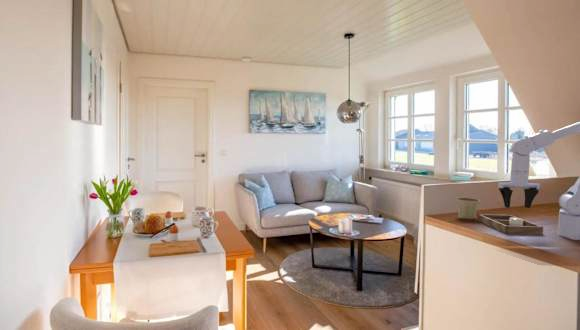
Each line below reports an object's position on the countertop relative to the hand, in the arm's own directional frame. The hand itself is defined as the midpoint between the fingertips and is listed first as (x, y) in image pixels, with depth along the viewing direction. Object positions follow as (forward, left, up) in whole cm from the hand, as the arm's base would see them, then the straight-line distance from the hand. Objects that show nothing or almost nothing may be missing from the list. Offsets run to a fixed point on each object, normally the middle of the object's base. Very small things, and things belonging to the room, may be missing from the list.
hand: (517, 207), depth 143 cm
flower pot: (+22, +8, -10) cm, 25 cm away
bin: (+5, 0, -9) cm, 10 cm away
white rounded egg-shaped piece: (0, 0, -9) cm, 9 cm away
